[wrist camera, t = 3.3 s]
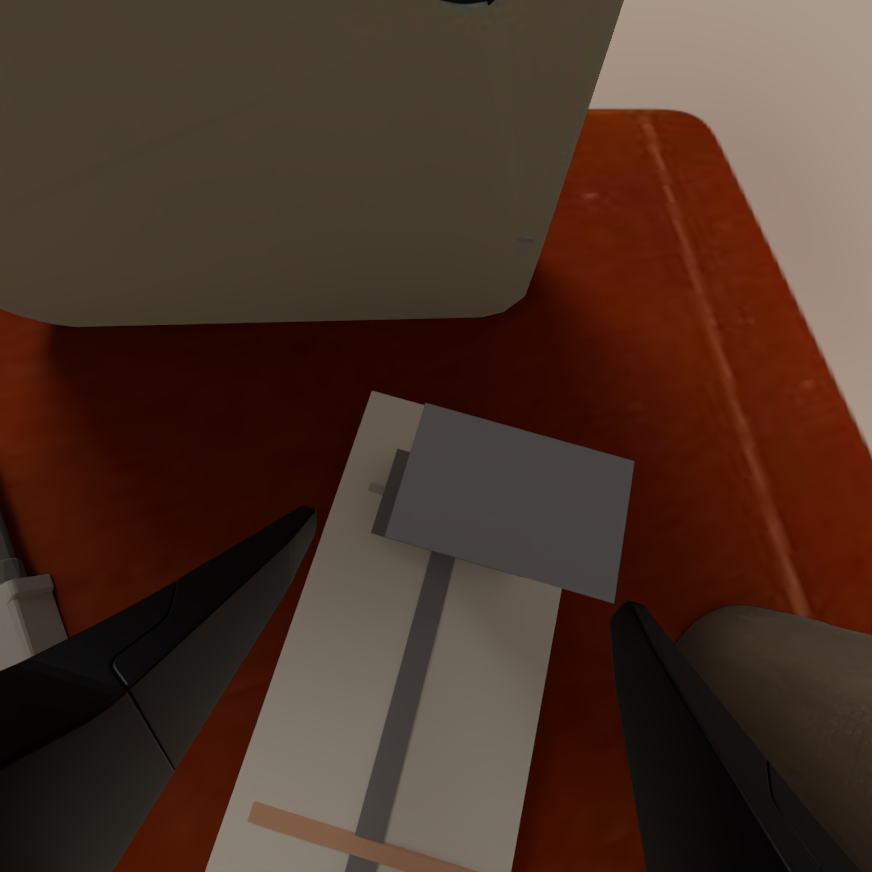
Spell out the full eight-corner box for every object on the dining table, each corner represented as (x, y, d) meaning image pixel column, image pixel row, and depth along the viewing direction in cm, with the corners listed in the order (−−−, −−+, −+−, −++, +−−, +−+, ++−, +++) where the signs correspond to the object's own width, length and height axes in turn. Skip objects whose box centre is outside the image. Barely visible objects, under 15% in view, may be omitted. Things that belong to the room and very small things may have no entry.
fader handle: (514, 572, 17) (698, 679, 6) (375, 531, 17) (284, 557, 6) (531, 491, 18) (717, 445, 7) (399, 454, 18) (361, 346, 7)
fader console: (458, 1049, 14) (465, 1138, 12) (187, 958, 15) (148, 1031, 13) (571, 457, 21) (587, 450, 18) (376, 402, 21) (371, 389, 19)
